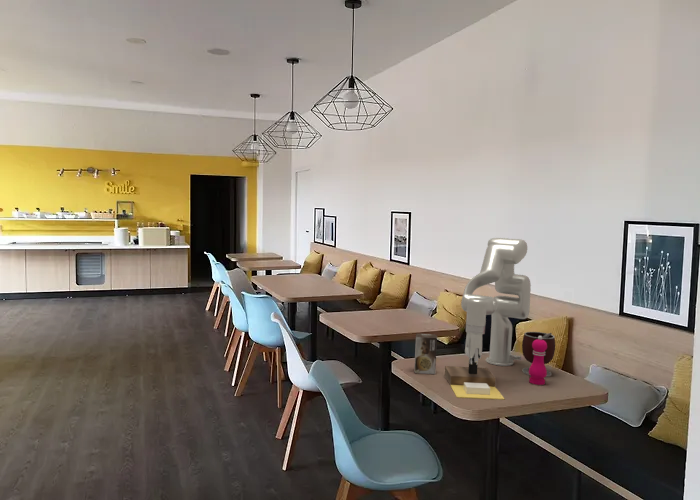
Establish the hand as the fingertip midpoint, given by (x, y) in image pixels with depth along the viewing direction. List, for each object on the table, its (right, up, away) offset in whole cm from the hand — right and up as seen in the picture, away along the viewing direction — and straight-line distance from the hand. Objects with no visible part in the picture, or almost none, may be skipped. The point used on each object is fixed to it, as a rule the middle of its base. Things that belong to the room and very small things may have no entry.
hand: (472, 373), depth 223 cm
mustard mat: (0, -6, -8) cm, 10 cm away
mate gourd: (+34, -5, +22) cm, 41 cm away
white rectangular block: (0, -4, -8) cm, 9 cm away
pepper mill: (+29, -6, +8) cm, 31 cm away
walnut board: (0, -5, +6) cm, 8 cm away
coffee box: (-17, -3, +17) cm, 24 cm away
